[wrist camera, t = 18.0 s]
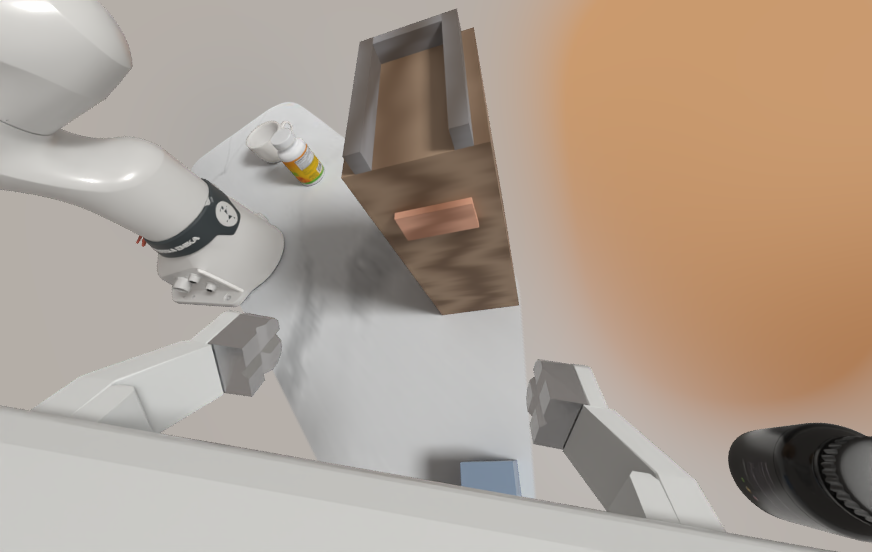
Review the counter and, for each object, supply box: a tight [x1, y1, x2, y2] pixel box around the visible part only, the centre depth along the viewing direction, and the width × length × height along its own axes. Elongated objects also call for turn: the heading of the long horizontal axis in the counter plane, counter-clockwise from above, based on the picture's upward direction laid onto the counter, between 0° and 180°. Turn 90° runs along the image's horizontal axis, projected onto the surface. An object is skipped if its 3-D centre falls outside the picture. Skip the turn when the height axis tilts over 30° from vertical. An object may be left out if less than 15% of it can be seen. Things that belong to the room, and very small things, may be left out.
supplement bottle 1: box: [271, 128, 325, 186], centre depth 62 cm, size 5×5×10 cm
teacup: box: [246, 121, 293, 163], centre depth 70 cm, size 10×8×5 cm
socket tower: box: [341, 9, 519, 315], centre depth 35 cm, size 10×14×28 cm
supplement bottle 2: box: [728, 423, 872, 542], centre depth 24 cm, size 7×7×12 cm
